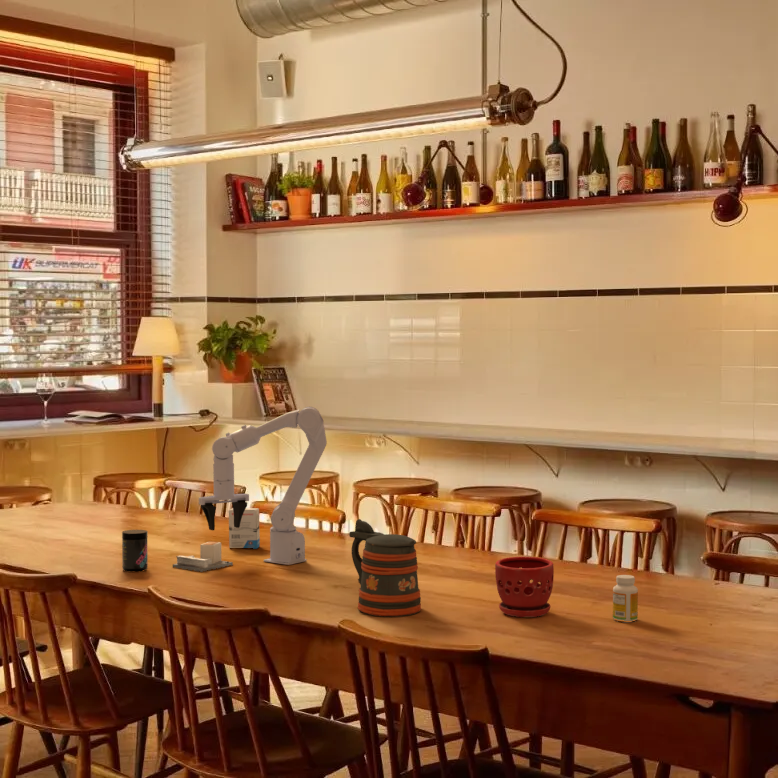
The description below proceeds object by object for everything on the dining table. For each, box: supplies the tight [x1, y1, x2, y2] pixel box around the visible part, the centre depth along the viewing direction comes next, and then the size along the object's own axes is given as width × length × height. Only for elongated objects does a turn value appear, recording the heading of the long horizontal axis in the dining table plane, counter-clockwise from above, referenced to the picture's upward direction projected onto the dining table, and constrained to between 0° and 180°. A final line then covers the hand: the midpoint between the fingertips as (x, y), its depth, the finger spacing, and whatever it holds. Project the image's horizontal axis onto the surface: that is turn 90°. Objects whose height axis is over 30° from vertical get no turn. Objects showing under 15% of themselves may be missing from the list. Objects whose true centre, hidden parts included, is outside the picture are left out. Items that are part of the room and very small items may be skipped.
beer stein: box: [348, 518, 422, 618], centre depth 271 cm, size 19×15×20 cm
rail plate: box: [172, 555, 234, 573], centre depth 322 cm, size 11×12×3 cm
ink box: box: [228, 507, 261, 550], centre depth 352 cm, size 9×5×12 cm, turn 84°
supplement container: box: [121, 529, 149, 572], centre depth 317 cm, size 7×7×10 cm
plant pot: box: [494, 556, 555, 618], centre depth 266 cm, size 13×13×12 cm
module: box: [199, 541, 222, 564], centre depth 325 cm, size 4×5×5 cm
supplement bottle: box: [612, 574, 639, 621], centre depth 261 cm, size 5×5×10 cm
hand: (224, 528), depth 329 cm, fingers open, 7 cm apart
